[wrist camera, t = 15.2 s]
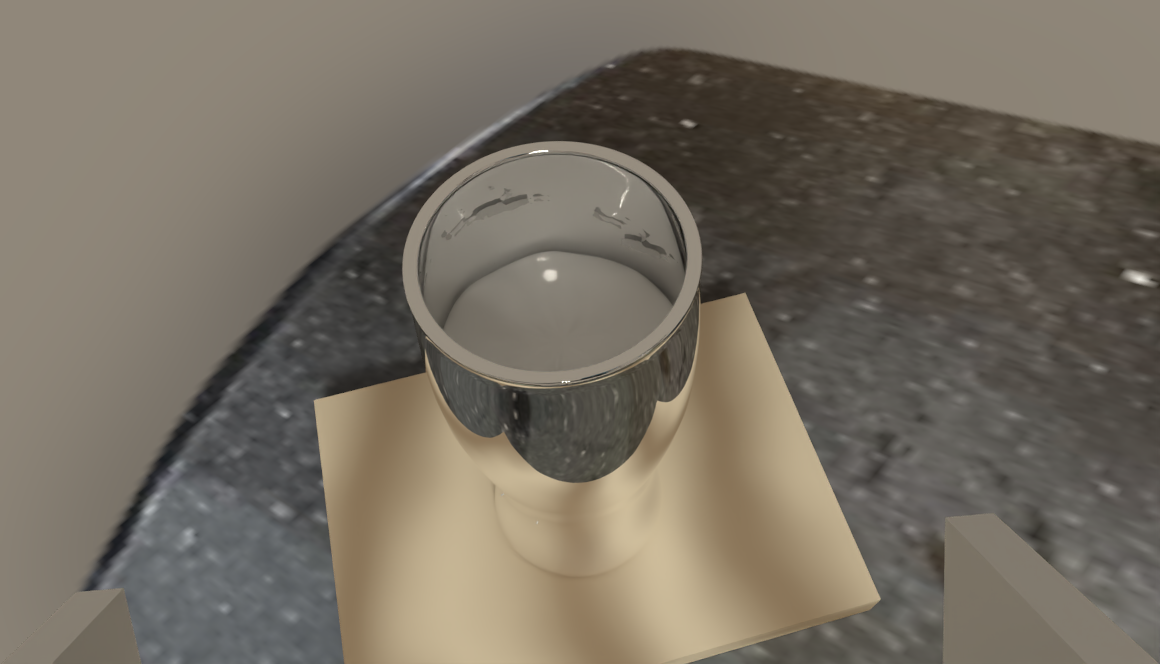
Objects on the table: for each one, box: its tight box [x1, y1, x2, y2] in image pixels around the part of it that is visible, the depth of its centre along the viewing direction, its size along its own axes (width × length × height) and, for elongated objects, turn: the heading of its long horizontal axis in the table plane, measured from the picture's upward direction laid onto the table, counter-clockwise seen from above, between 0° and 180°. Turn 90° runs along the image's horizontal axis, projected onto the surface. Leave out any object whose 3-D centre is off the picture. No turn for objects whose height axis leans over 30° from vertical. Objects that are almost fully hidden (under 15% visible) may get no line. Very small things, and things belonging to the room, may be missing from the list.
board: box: [314, 293, 881, 664], centre depth 32 cm, size 18×13×2 cm
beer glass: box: [402, 141, 702, 577], centre depth 25 cm, size 7×7×15 cm
